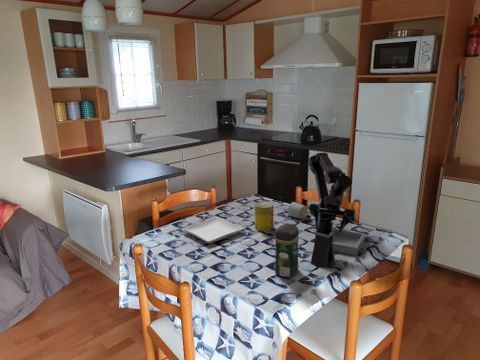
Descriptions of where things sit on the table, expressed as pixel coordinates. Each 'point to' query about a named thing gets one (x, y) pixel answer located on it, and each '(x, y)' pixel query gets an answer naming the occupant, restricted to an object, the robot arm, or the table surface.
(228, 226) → the salad plate
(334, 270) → the table surface
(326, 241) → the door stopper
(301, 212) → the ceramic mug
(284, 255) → the coffee jar
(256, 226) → the yellow green jar
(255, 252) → the table surface
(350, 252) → the box
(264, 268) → the table surface
